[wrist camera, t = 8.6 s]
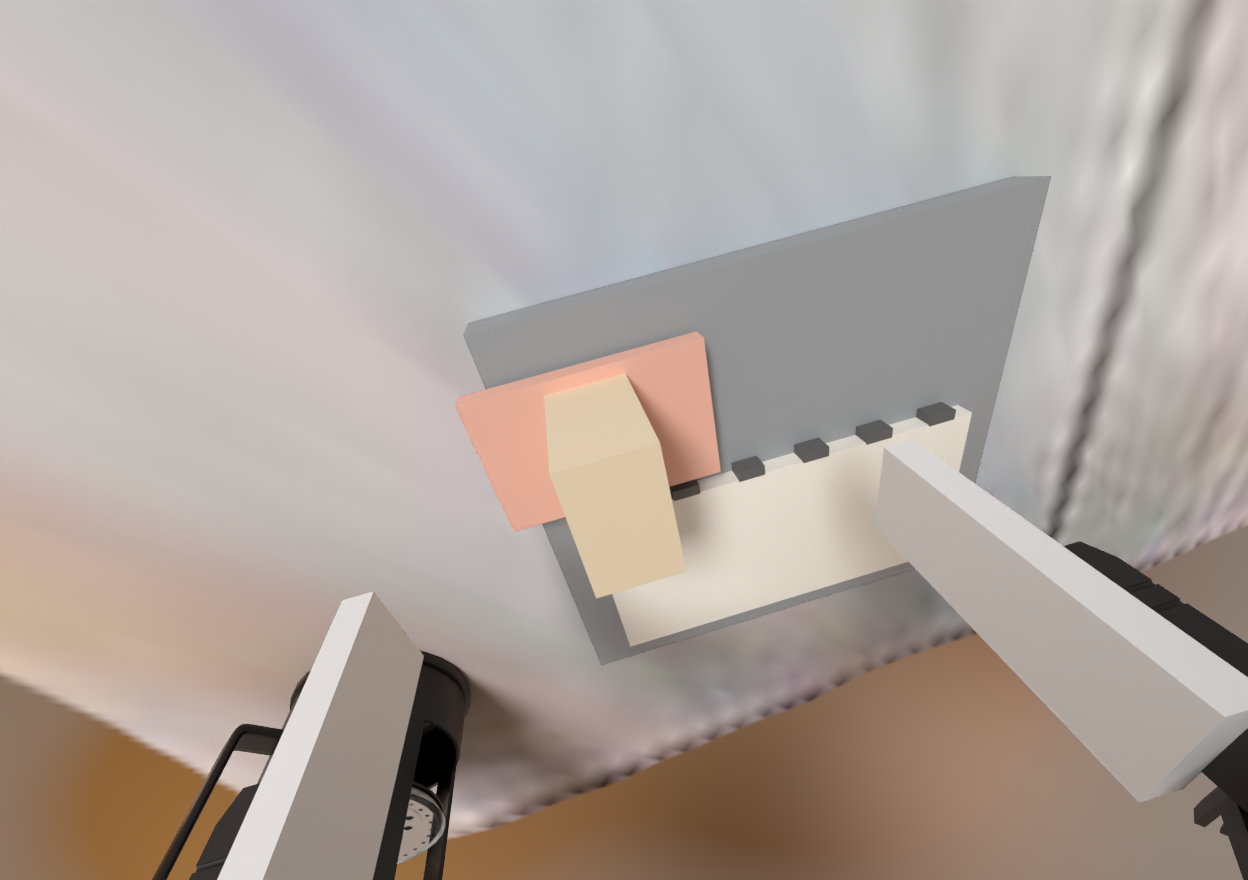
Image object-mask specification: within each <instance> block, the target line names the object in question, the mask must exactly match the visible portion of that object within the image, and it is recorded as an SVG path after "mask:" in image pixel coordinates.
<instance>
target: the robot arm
mask: <svg viewBox="0 0 1248 880" xmlns="http://www.w3.org/2000/svg"><path fill="white" fill-rule="evenodd" d="M875 527H876V528H877V529H878V530H879V531H880V532H881V533H882V534H883V535H884V536H885V537H886V539H887V540H888V541H889V542H890V543H891V544H892V545H893V546H894V547H895V548H896V549H897V550H898V551H899V552H900V553H901V554H902V555H903V556H904V557H905V558H906V559H907V560H908V562H909V563H910V564H911V565H912V566H913V567H914V568H915V569H916V570H917V571H918V572H919V573H920V574H921V575H922V576H923V577H924V578H925V579H926V580H927V581H928V582H929V583H930V585H931V586H932V587H933V588H934V589H935V590H936V591H937V592H938V593H939V594H940V595H941V596H942V597H943V598H944V599H945V600H946V601H947V602H948V603H949V604H950V605H951V606H952V608H953V609H954V610H955V611H956V612H957V613H958V614H959V615H960V616H961V617H962V618H963V619H964V620H965V621H966V622H967V623H968V624H969V625H970V626H971V627H972V628H973V629H974V631H975V632H976V633H977V634H978V635H979V636H980V637H981V638H982V639H983V640H984V641H985V642H986V643H987V644H988V645H989V646H990V647H991V648H992V649H993V650H994V651H995V652H996V653H997V654H998V655H999V656H1000V658H1001V659H1002V660H1003V661H1004V662H1005V663H1006V664H1007V665H1008V666H1009V667H1010V668H1011V669H1012V670H1013V671H1014V672H1015V673H1016V674H1017V675H1018V676H1019V678H1021V680H1022V681H1023V682H1024V683H1025V684H1026V685H1027V686H1028V687H1029V688H1030V689H1031V690H1032V691H1033V692H1034V693H1035V694H1036V695H1037V696H1038V697H1039V698H1040V699H1041V701H1042V702H1044V704H1046V706H1047V707H1048V708H1049V709H1050V710H1051V711H1052V712H1053V713H1054V714H1055V715H1056V716H1057V717H1058V718H1059V719H1060V720H1061V721H1062V722H1063V724H1065V726H1067V728H1068V729H1069V730H1070V731H1071V732H1072V733H1073V734H1074V735H1075V736H1076V737H1077V738H1078V739H1079V740H1080V741H1081V742H1082V743H1083V744H1084V745H1085V746H1086V747H1087V748H1088V750H1089V751H1090V752H1091V753H1092V754H1093V755H1094V756H1095V757H1096V758H1097V759H1098V760H1099V761H1100V762H1101V763H1102V764H1103V765H1104V766H1105V767H1106V768H1107V769H1108V771H1109V772H1110V773H1111V774H1112V775H1113V776H1114V777H1115V778H1116V779H1117V780H1118V781H1119V782H1120V783H1121V784H1122V785H1123V786H1124V787H1125V788H1126V789H1127V790H1128V791H1129V792H1130V794H1132V796H1133V797H1134V798H1135V799H1136V800H1137V801H1138V802H1139V803H1140V802H1143V801H1146V800H1149V799H1152V798H1155V797H1159V796H1162V795H1165V794H1168V793H1171V792H1174V791H1178V790H1181V789H1184V788H1185V787H1186V786H1187V785H1188V784H1189V783H1190V782H1191V781H1192V780H1193V779H1194V778H1196V777H1197V776H1198V775H1199V774H1200V773H1201V772H1203V773H1204V774H1205V775H1206V776H1207V777H1208V778H1209V779H1210V780H1211V781H1213V782H1214V783H1215V784H1216V785H1217V786H1218V787H1216V789H1214V790H1213V791H1212V792H1211V793H1209V794H1208V795H1207V796H1206V797H1205V798H1204V799H1202V800H1201V801H1200V803H1199V804H1198V805H1197V806H1196V807H1195V808H1194V823H1195V824H1198V825H1201V826H1203V827H1206V826H1207V825H1208V824H1210V823H1211V822H1212V821H1214V820H1215V819H1216V818H1217V817H1219V816H1220V815H1221V816H1222V819H1223V822H1224V823H1223V825H1222V827H1221V829H1220V833H1222V834H1224V835H1227V836H1229V839H1230V842H1231V845H1232V848H1233V851H1234V854H1235V856H1236V859H1237V862H1238V865H1239V868H1240V871H1241V874H1242V877H1243V880H1248V643H1246V642H1245V641H1243V640H1242V639H1240V638H1239V637H1237V636H1236V635H1234V634H1233V633H1231V632H1230V631H1228V630H1226V629H1225V628H1224V627H1222V626H1220V625H1219V624H1217V623H1216V622H1215V621H1213V620H1212V619H1210V618H1208V617H1207V616H1206V615H1204V614H1202V613H1201V612H1199V611H1198V610H1196V609H1195V608H1193V607H1192V606H1190V605H1189V604H1184V603H1182V602H1181V601H1180V598H1178V597H1177V596H1175V595H1174V594H1172V593H1171V592H1169V591H1168V590H1166V589H1165V588H1163V587H1161V586H1160V585H1159V584H1157V585H1155V584H1153V583H1152V581H1151V579H1150V578H1148V577H1147V576H1145V575H1143V574H1142V573H1141V572H1139V571H1138V570H1136V569H1135V568H1133V567H1132V566H1130V565H1129V564H1127V563H1126V562H1124V561H1123V560H1121V559H1120V558H1118V557H1116V556H1113V555H1111V554H1109V553H1106V552H1104V551H1101V550H1099V549H1097V548H1094V547H1092V546H1089V545H1087V544H1085V543H1082V542H1076V543H1073V544H1069V545H1066V546H1062V545H1061V544H1059V543H1058V542H1056V541H1055V540H1054V539H1052V538H1051V537H1049V536H1048V535H1047V534H1045V533H1044V532H1042V531H1041V530H1040V529H1038V528H1037V527H1035V526H1034V525H1033V524H1031V523H1030V522H1028V521H1027V520H1025V519H1024V518H1023V517H1021V516H1020V515H1018V514H1017V513H1016V512H1014V511H1013V510H1011V509H1010V508H1009V507H1007V506H1006V505H1004V504H1003V503H1002V502H1000V501H999V500H997V499H996V498H994V497H993V496H992V495H990V494H989V493H987V492H986V491H985V490H983V489H982V488H980V487H979V486H978V485H976V484H975V483H973V482H972V481H971V480H969V479H968V478H966V477H965V476H963V475H962V474H961V473H959V472H958V471H956V470H955V469H954V468H952V467H951V466H949V465H948V464H947V463H945V462H944V461H942V460H941V459H940V458H938V457H937V456H935V455H934V454H933V453H931V452H930V451H928V450H927V449H925V448H924V447H923V446H921V445H920V444H918V443H917V442H916V441H914V440H913V439H912V440H909V441H905V442H902V443H898V444H895V445H891V446H887V447H884V452H883V460H882V469H881V477H880V486H879V494H878V502H877V511H876V519H875ZM423 658H424V655H423V654H422V653H421V652H420V650H419V649H418V648H417V647H416V645H415V644H414V643H413V641H412V640H411V639H410V638H409V636H408V635H407V634H406V633H405V631H404V630H403V629H402V627H401V626H400V625H399V624H398V622H397V621H396V620H395V618H394V617H393V616H392V615H391V613H390V612H389V611H388V610H387V608H386V607H385V606H384V604H383V603H382V602H381V601H380V599H379V598H378V597H377V595H376V594H375V593H374V592H370V593H367V594H363V595H359V596H356V597H352V598H349V599H345V600H342V602H341V605H340V607H339V609H338V611H337V614H336V616H335V618H334V620H333V622H332V625H331V627H330V629H329V631H328V634H327V636H326V638H325V640H324V643H323V645H322V647H321V649H320V651H319V654H318V656H317V658H316V660H315V663H314V665H313V667H312V669H311V671H310V674H309V676H308V678H307V680H306V683H305V685H304V687H303V689H302V692H301V694H300V696H299V698H298V700H297V703H296V705H295V707H294V709H293V712H292V714H291V716H290V718H289V721H288V723H287V725H286V727H285V729H284V732H283V734H282V736H281V738H280V741H279V743H278V745H277V747H276V750H275V752H274V754H273V756H272V758H271V761H270V763H269V765H268V767H267V770H266V772H265V774H264V776H263V778H262V781H261V783H259V784H256V785H252V786H249V787H246V788H243V789H242V791H241V792H240V793H239V795H238V796H237V797H236V799H235V800H234V801H233V803H232V804H231V806H230V807H229V808H228V810H227V811H226V812H225V814H224V815H223V816H222V818H221V819H220V820H219V822H218V823H217V825H216V826H215V828H214V830H213V832H212V835H211V836H210V838H209V840H208V843H207V844H206V846H205V849H204V851H203V853H202V855H201V857H200V859H199V861H198V863H197V865H196V866H197V870H196V872H195V873H193V874H192V875H191V877H190V879H189V880H373V876H374V872H375V867H376V863H377V858H378V854H379V850H380V845H381V841H382V837H383V832H384V828H385V824H386V819H387V815H388V810H389V806H390V802H391V797H392V793H393V789H394V784H395V780H396V776H397V771H398V767H399V762H400V758H401V754H402V749H403V745H404V741H405V736H406V732H407V728H408V723H409V719H410V714H411V710H412V706H413V701H414V697H415V693H416V688H417V684H418V680H419V675H420V671H421V666H422V662H423Z"/></svg>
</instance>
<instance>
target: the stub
mask: <svg viewBox="0 0 1248 880" xmlns="http://www.w3.org/2000/svg"><path fill="white" fill-rule="evenodd" d="M455 407H456V409H457V411H458V413H459V415H460V418H461V420H462V422H463V424H464V426H465V428H466V430H467V432H468V435H469V437H470V439H471V441H472V443H473V445H474V447H475V449H476V452H477V454H478V456H479V458H480V460H481V462H482V464H483V467H484V469H485V471H486V473H487V475H488V477H489V479H490V481H491V484H492V486H493V488H494V490H495V492H496V494H497V496H498V499H499V501H500V503H501V505H502V507H503V509H504V511H505V513H506V516H507V518H508V520H509V522H510V524H511V526H512V528H513V530H514V532H516V531H519V530H523V529H526V528H529V527H533V526H536V525H540V524H543V523H547V522H550V521H553V520H557V519H560V518H564V517H566V520H567V522H568V525H569V528H570V530H571V533H572V536H573V538H574V541H575V544H576V546H577V549H578V552H579V554H580V557H581V560H582V562H583V565H584V567H585V570H586V573H587V575H588V578H589V581H590V583H591V586H592V589H593V591H594V594H595V597H596V598H600V597H603V596H606V595H610V594H613V593H616V592H620V591H623V590H626V589H630V588H633V587H636V586H640V585H643V584H646V583H650V582H653V581H656V580H660V579H663V578H666V577H670V576H673V575H676V574H680V573H683V572H686V566H685V561H684V556H683V552H682V547H681V542H680V537H679V532H678V527H677V523H676V518H675V513H674V508H673V503H672V498H671V494H670V489H669V487H670V486H674V485H677V484H681V483H684V482H687V481H691V480H694V479H698V478H701V477H705V476H708V475H712V474H715V473H718V472H721V469H720V461H719V454H718V446H717V438H716V430H715V422H714V414H713V406H712V398H711V390H710V383H709V375H708V367H707V359H706V351H705V343H704V337H702V336H701V335H700V334H699V333H698V332H697V331H696V332H692V333H689V334H685V335H682V336H678V337H674V338H671V339H667V340H664V341H660V342H656V343H653V344H649V345H645V346H642V347H638V348H635V349H631V350H627V351H624V352H620V353H616V354H613V355H609V356H606V357H602V358H598V359H595V360H591V361H587V362H584V363H580V364H577V365H573V366H569V367H566V368H562V369H558V370H555V371H551V372H548V373H544V374H540V375H537V376H533V377H529V378H526V379H522V380H519V381H515V382H511V383H508V384H504V385H500V386H497V387H493V388H490V389H486V390H482V391H479V392H475V393H471V394H468V395H464V396H461V397H458V400H457V403H456V406H455Z"/></svg>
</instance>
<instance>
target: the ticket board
mask: <svg viewBox="0 0 1248 880" xmlns="http://www.w3.org/2000/svg"><path fill="white" fill-rule="evenodd" d="M1050 179H1051V176H1040V177H1011V178H1007V179H1003V180H999V181H996V182H992V183H988V184H985V185H981V186H977V187H973V188H970V189H966V190H962V191H959V192H955V193H951V194H947V195H944V196H940V197H936V198H932V199H929V200H925V201H921V202H918V203H914V204H910V205H906V206H903V207H899V208H895V209H892V210H888V211H884V212H880V213H877V214H873V215H869V216H865V217H862V218H858V219H854V220H851V221H847V222H843V223H839V224H836V225H832V226H828V227H825V228H821V229H817V230H813V231H810V232H806V233H802V234H799V235H795V236H791V237H787V238H784V239H780V240H776V241H772V242H769V243H765V244H761V245H758V246H754V247H750V248H746V249H743V250H739V251H735V252H732V253H728V254H724V255H720V256H717V257H713V258H709V259H705V260H702V261H698V262H694V263H691V264H687V265H683V266H679V267H676V268H672V269H668V270H665V271H661V272H657V273H653V274H650V275H646V276H642V277H639V278H635V279H631V280H627V281H624V282H620V283H616V284H612V285H609V286H605V287H601V288H598V289H594V290H590V291H586V292H583V293H579V294H575V295H572V296H568V297H564V298H560V299H557V300H553V301H549V302H545V303H542V304H538V305H534V306H531V307H527V308H523V309H519V310H516V311H512V312H508V313H505V314H501V315H497V316H493V317H490V318H486V319H482V320H479V321H475V322H471V323H468V325H467V327H466V330H465V332H464V334H463V336H464V338H465V341H466V343H467V345H468V348H469V350H470V353H471V355H472V357H473V360H474V362H475V365H476V367H477V369H478V372H479V374H480V376H481V379H482V381H483V384H484V386H485V388H486V389H490V388H493V387H497V386H500V385H504V384H508V383H511V382H515V381H519V380H522V379H526V378H529V377H533V376H537V375H540V374H544V373H548V372H551V371H555V370H558V369H562V368H566V367H569V366H573V365H577V364H580V363H584V362H587V361H591V360H595V359H598V358H602V357H606V356H609V355H613V354H616V353H620V352H624V351H627V350H631V349H635V348H638V347H642V346H645V345H649V344H653V343H656V342H660V341H664V340H667V339H671V338H674V337H678V336H682V335H685V334H689V333H692V332H696V331H697V332H698V333H699V334H700V335H701V336H702V337H704V343H705V351H706V359H707V367H708V375H709V383H710V390H711V398H712V406H713V414H714V422H715V430H716V438H717V446H718V454H719V461H720V469H721V472H718V473H715V474H712V475H708V476H705V477H701V478H698V479H694V480H691V481H687V482H684V483H681V484H677V485H674V486H670V487H669V489H670V494H671V498H672V503H673V508H674V513H675V518H676V523H677V527H678V532H679V537H680V542H681V547H682V552H683V556H684V561H685V566H686V572H683V573H680V574H676V575H673V576H670V577H666V578H663V579H660V580H656V581H653V582H650V583H646V584H643V585H640V586H636V587H633V588H630V589H626V590H623V591H620V592H616V593H613V594H610V595H606V596H603V597H600V598H596V597H595V594H594V591H593V589H592V586H591V583H590V581H589V578H588V575H587V573H586V570H585V567H584V565H583V562H582V560H581V557H580V554H579V552H578V549H577V546H576V544H575V541H574V538H573V536H572V533H571V530H570V528H569V525H568V522H567V520H566V517H564V518H560V519H557V520H553V521H550V522H547V523H543V527H544V529H545V532H546V534H547V536H548V539H549V541H550V544H551V546H552V548H553V551H554V553H555V556H556V558H557V560H558V563H559V565H560V567H561V570H562V572H563V575H564V577H565V579H566V582H567V584H568V587H569V589H570V591H571V594H572V596H573V598H574V601H575V603H576V606H577V608H578V610H579V613H580V615H581V618H582V620H583V622H584V625H585V627H586V630H587V632H588V634H589V637H590V639H591V641H592V644H593V646H594V649H595V651H596V653H597V656H598V658H599V661H600V663H601V665H604V664H607V663H610V662H614V661H617V660H620V659H623V658H627V657H630V656H633V655H636V654H640V653H643V652H646V651H649V650H653V649H656V648H659V647H662V646H666V645H669V644H672V643H675V642H679V641H682V640H685V639H689V638H692V637H695V636H698V635H702V634H705V633H708V632H711V631H715V630H718V629H721V628H724V627H728V626H731V625H734V624H737V623H741V622H744V621H747V620H750V619H754V618H757V617H760V616H763V615H767V614H770V613H773V612H776V611H780V610H783V609H786V608H789V607H793V606H796V605H799V604H802V603H806V602H809V601H812V600H815V599H819V598H822V597H825V596H829V595H832V594H835V593H838V592H842V591H845V590H848V589H851V588H855V587H858V586H861V585H864V584H868V583H871V582H874V581H877V580H881V579H884V578H887V577H890V576H894V575H897V574H900V573H903V572H907V571H910V570H913V569H915V568H914V567H913V566H912V565H911V564H910V563H909V562H908V560H907V559H906V558H905V557H904V556H903V555H902V554H901V553H900V552H899V551H898V550H897V549H896V548H895V547H894V546H893V545H892V544H891V543H890V542H889V541H888V540H887V539H886V537H885V536H884V535H883V534H882V533H881V532H880V531H879V530H878V529H877V528H876V527H875V519H876V511H877V502H878V494H879V486H880V477H881V469H882V460H883V452H884V447H887V446H891V445H895V444H898V443H902V442H905V441H909V440H912V439H913V440H914V441H916V442H917V443H918V444H920V445H921V446H923V447H924V448H925V449H927V450H928V451H930V452H931V453H933V454H934V455H935V456H937V457H938V458H940V459H941V460H942V461H944V462H945V463H947V464H948V465H949V466H951V467H952V468H954V469H955V470H956V471H958V472H959V473H961V474H962V475H963V476H965V477H966V478H968V479H969V480H971V481H972V482H973V483H975V481H976V477H977V473H978V469H979V465H980V461H981V457H982V453H983V449H984V445H985V441H986V437H987V433H988V429H989V425H990V421H991V417H992V413H993V409H994V405H995V401H996V397H997V393H998V389H999V385H1000V381H1001V377H1002V373H1003V369H1004V365H1005V361H1006V356H1007V352H1008V348H1009V344H1010V340H1011V336H1012V332H1013V328H1014V324H1015V320H1016V316H1017V312H1018V308H1019V304H1020V300H1021V296H1022V292H1023V288H1024V284H1025V280H1026V276H1027V272H1028V268H1029V264H1030V260H1031V256H1032V252H1033V248H1034V244H1035V240H1036V236H1037V232H1038V227H1039V223H1040V219H1041V215H1042V211H1043V207H1044V203H1045V199H1046V195H1047V191H1048V187H1049V183H1050Z"/></svg>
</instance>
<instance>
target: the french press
mask: <svg viewBox="0 0 1248 880" xmlns="http://www.w3.org/2000/svg"><path fill="white" fill-rule="evenodd" d="M421 653H422V654H423V655H424V658H423V662H422V666H421V671H420V675H419V680H418V684H417V688H416V693H415V697H414V701H413V706H412V710H411V714H410V719H409V723H408V728H407V732H406V736H405V741H404V745H403V749H402V754H401V758H400V762H399V767H398V771H397V776H396V780H395V784H394V789H393V793H392V797H391V802H390V806H389V810H388V815H387V819H386V824H385V828H384V832H383V837H382V841H381V845H380V850H379V854H378V858H377V863H376V867H375V872H374V876H373V880H394V878H395V873H396V867H397V864H399V863H402V862H404V861H406V860H408V859H411V858H413V857H415V856H417V855H419V854H420V853H422V852H424V851H426V850H427V849H428V853H427V860H426V866H425V872H424V879H423V880H442V875H443V867H444V860H445V851H446V843H447V836H448V828H449V820H450V812H451V804H452V796H453V788H454V780H455V772H456V765H457V763H458V760H459V757H460V748H461V740H462V732H463V724H464V717H465V716H466V714H467V711H468V708H469V705H470V689H469V686H468V683H467V680H466V679H465V677H464V676H463V675H462V673H461V672H460V671H459V670H458V669H456V668H455V667H454V666H453V665H452V664H450V663H448V662H446V661H444V660H442V659H441V658H439V657H436V656H433V655H430V654H427V653H424V652H421ZM310 671H311V670H310ZM310 671H309V672H308V673H307V674H306V675H305V676H304V677H303V678H302V679H301V680H300V681H299V683H298V684H297V686H296V688H295V690H294V693H293V695H292V697H291V702H290V712H289V714H288V717H287V719H286V721H285V723H284V726H283V728H282V730H281V729H275V728H269V727H264V726H258V725H252V724H242V725H240V726H239V727H237V728H236V729H235V731H234V732H233V734H232V735H231V737H230V738H229V740H228V741H227V743H226V745H225V746H224V748H223V749H222V751H221V753H220V754H219V756H218V758H217V760H216V762H215V764H214V765H213V767H212V769H211V771H210V773H209V775H208V777H207V778H206V780H205V782H204V784H203V786H202V788H201V790H200V791H199V793H198V795H197V797H196V799H195V801H194V803H193V804H192V806H191V808H190V810H189V812H188V814H187V815H186V817H185V819H184V821H183V823H182V825H181V827H180V828H179V831H178V832H177V834H176V836H175V838H174V840H173V841H172V843H171V845H170V847H169V849H168V851H167V853H166V854H165V856H164V859H163V860H162V862H161V864H160V865H159V867H158V869H157V871H156V873H155V875H154V877H153V878H152V880H166V879H167V877H168V876H169V873H170V872H171V870H172V868H173V866H174V864H175V862H176V860H177V858H178V856H179V854H180V852H181V850H182V849H183V847H184V845H185V843H186V841H187V839H188V837H189V835H190V833H191V831H192V829H193V827H194V825H195V824H196V822H197V820H198V818H199V816H200V814H201V812H202V810H203V808H204V806H205V804H206V802H207V800H208V799H209V797H210V795H211V793H212V791H213V789H214V787H215V785H216V783H217V781H218V779H219V777H220V775H221V773H222V772H223V770H224V768H225V766H226V764H227V762H228V760H229V758H230V756H231V754H232V752H233V751H236V750H237V751H243V752H250V753H257V754H264V755H270V757H269V759H268V761H267V763H266V765H265V768H264V770H263V772H262V774H261V777H260V779H259V781H258V783H257V784H259V783H261V781H262V778H263V776H264V774H265V772H266V770H267V767H268V765H269V763H270V761H271V758H272V756H273V754H274V752H275V750H276V747H277V745H278V743H279V741H280V738H281V736H282V734H283V732H284V729H285V727H286V725H287V723H288V721H289V718H290V716H291V714H292V712H293V709H294V707H295V705H296V703H297V700H298V698H299V696H300V694H301V692H302V689H303V687H304V685H305V683H306V680H307V678H308V676H309V674H310ZM425 722H427V723H429V724H432V725H431V726H429V727H427V728H425V729H423V728H424V723H425ZM437 784H438V786H437V793H436V794H435V793H433V792H432V791H431V790H430V789H431V788H433V787H434V786H436V785H437Z"/></svg>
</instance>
